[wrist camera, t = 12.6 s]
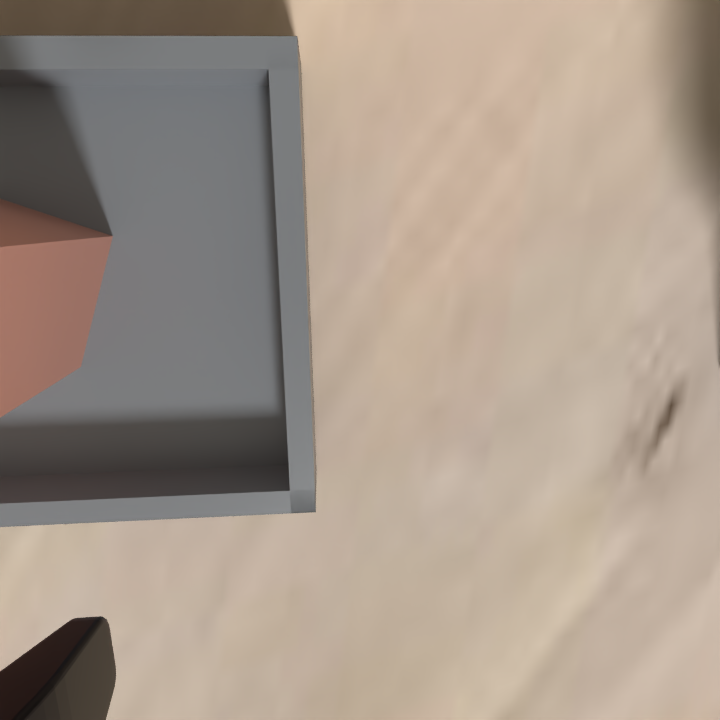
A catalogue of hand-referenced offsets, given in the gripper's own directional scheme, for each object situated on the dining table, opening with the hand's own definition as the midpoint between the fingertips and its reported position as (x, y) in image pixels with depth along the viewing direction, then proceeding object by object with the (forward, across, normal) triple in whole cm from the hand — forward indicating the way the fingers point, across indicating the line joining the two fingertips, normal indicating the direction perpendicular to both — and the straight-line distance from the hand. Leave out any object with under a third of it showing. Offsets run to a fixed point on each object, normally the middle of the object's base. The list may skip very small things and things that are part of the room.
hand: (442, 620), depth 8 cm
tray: (+13, +10, -3) cm, 17 cm away
